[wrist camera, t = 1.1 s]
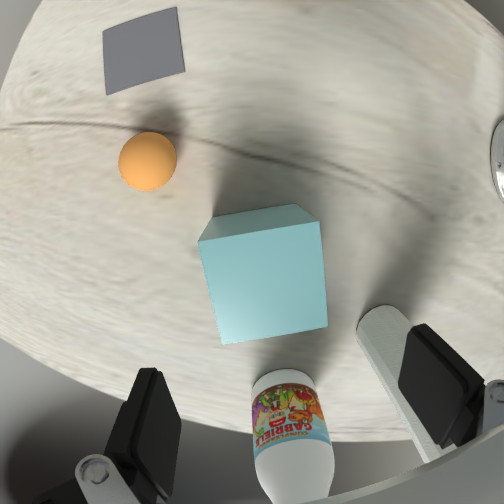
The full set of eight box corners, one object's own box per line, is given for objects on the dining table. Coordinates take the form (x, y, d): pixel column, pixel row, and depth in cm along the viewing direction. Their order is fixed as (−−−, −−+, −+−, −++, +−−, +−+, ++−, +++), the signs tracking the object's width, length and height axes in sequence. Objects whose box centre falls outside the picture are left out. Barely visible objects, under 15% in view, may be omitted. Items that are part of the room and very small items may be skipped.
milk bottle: (325, 389, 33) (369, 527, 14) (276, 417, 34) (293, 551, 15) (289, 355, 31) (326, 519, 12) (237, 388, 33) (237, 542, 13)
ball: (177, 129, 24) (162, 121, 19) (186, 181, 26) (174, 185, 21) (127, 142, 24) (104, 139, 19) (136, 193, 26) (115, 199, 21)
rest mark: (176, 8, 20) (175, 7, 20) (184, 71, 23) (184, 71, 22) (103, 32, 20) (102, 31, 20) (107, 95, 23) (106, 95, 22)
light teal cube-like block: (295, 203, 26) (319, 221, 18) (304, 280, 29) (327, 326, 20) (211, 217, 27) (197, 241, 18) (227, 293, 29) (222, 344, 20)
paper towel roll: (357, 307, 30) (462, 466, 9) (404, 300, 30) (523, 427, 9) (351, 360, 32) (422, 511, 11) (395, 350, 32) (481, 480, 11)
